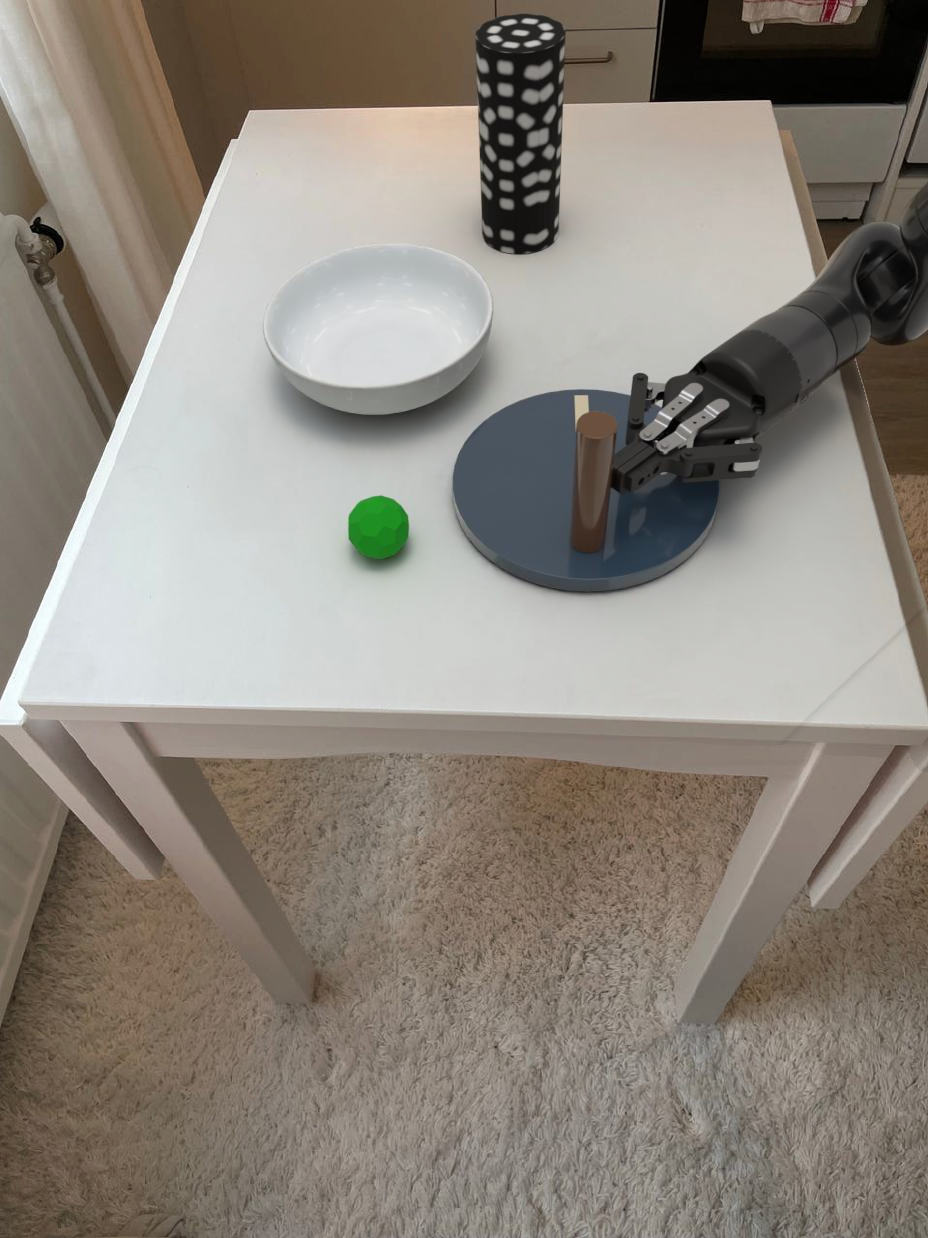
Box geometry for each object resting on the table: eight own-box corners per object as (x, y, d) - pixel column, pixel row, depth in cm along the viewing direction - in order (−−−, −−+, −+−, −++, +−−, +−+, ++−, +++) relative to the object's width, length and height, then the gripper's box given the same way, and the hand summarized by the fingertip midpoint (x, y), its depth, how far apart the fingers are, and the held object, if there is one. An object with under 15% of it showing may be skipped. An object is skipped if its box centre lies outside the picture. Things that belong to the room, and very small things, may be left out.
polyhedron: (414, 567, 76) (408, 527, 73) (352, 573, 76) (344, 534, 73) (409, 521, 79) (404, 480, 76) (351, 527, 79) (342, 487, 75)
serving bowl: (238, 361, 93) (220, 301, 88) (414, 278, 100) (407, 217, 94) (353, 480, 83) (340, 419, 77) (540, 378, 89) (541, 316, 84)
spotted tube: (471, 246, 103) (461, 46, 87) (498, 206, 107) (494, 9, 91) (544, 259, 101) (548, 57, 85) (568, 218, 105) (577, 18, 89)
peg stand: (459, 402, 87) (450, 272, 77) (702, 400, 86) (728, 267, 75) (446, 591, 74) (433, 466, 64) (732, 592, 73) (769, 465, 62)
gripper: (706, 296, 76) (551, 398, 70) (846, 372, 70) (690, 492, 64) (693, 371, 82) (549, 471, 76) (821, 447, 76) (676, 564, 70)
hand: (614, 481), depth 70 cm, fingers closed
